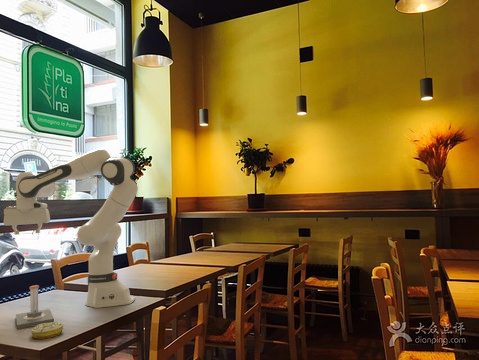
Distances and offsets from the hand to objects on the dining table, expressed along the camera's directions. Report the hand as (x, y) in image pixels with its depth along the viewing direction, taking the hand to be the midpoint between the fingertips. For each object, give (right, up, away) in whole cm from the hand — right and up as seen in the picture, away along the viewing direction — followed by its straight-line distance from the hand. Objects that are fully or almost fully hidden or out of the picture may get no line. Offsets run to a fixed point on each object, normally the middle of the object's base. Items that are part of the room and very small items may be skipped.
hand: (27, 233), depth 187 cm
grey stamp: (+17, -31, -26) cm, 44 cm away
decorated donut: (+32, -31, -45) cm, 63 cm away
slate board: (+17, -32, -26) cm, 45 cm away
